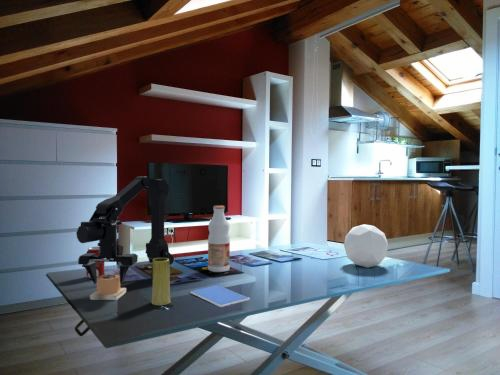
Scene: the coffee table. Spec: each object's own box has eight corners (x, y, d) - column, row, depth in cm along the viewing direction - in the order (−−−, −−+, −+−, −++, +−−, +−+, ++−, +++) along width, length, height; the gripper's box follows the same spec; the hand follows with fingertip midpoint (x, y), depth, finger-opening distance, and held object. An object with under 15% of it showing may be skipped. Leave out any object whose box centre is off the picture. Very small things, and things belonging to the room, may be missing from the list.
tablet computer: (251, 301, 134) (251, 297, 134) (220, 309, 126) (220, 305, 126) (218, 288, 149) (218, 284, 149) (188, 294, 141) (188, 290, 141)
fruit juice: (205, 268, 177) (205, 205, 176) (224, 266, 181) (224, 204, 180) (212, 273, 168) (212, 207, 167) (233, 271, 172) (233, 206, 171)
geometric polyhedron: (373, 283, 178) (383, 253, 166) (333, 262, 188) (339, 233, 175) (389, 257, 190) (399, 227, 178) (350, 238, 199) (358, 209, 187)
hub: (122, 288, 141) (122, 274, 141) (114, 294, 134) (114, 279, 133) (102, 288, 141) (102, 274, 141) (94, 294, 134) (94, 279, 134)
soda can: (98, 280, 157) (98, 249, 157) (83, 279, 159) (82, 249, 158) (107, 275, 164) (107, 246, 163) (92, 274, 165) (92, 246, 165)
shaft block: (126, 292, 142) (126, 273, 141) (116, 300, 133) (116, 280, 132) (101, 291, 142) (101, 273, 142) (90, 299, 133) (89, 280, 133)
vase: (153, 299, 133) (152, 257, 133) (171, 299, 134) (171, 257, 133) (150, 306, 127) (149, 261, 126) (169, 305, 128) (169, 261, 127)
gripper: (142, 235, 144) (142, 278, 145) (92, 234, 145) (92, 277, 146) (131, 240, 133) (132, 287, 134) (77, 240, 134) (77, 285, 135)
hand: (108, 283), depth 137 cm, fingers open, 9 cm apart
